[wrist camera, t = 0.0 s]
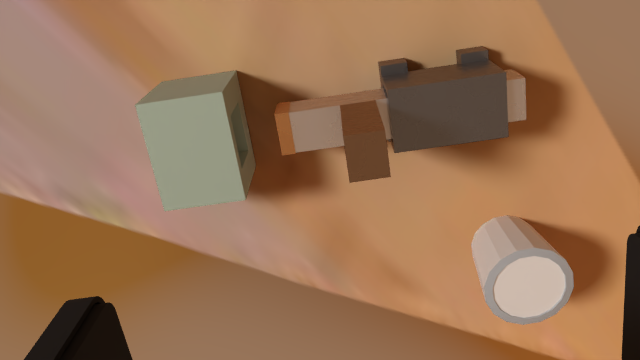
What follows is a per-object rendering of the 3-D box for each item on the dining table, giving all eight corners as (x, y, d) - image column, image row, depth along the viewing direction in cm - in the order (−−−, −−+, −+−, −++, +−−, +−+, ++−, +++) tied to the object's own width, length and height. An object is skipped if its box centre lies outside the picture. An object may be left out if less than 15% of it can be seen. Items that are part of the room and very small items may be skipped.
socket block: (161, 81, 46) (135, 105, 40) (236, 70, 46) (221, 91, 39) (185, 175, 49) (164, 211, 43) (256, 165, 49) (245, 200, 42)
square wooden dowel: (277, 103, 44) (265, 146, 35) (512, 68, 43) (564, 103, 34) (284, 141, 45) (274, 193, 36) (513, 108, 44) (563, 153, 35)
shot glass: (487, 197, 50) (512, 235, 43) (558, 225, 51) (592, 267, 44) (450, 262, 52) (468, 308, 46) (518, 288, 53) (545, 336, 47)
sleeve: (378, 61, 46) (386, 79, 40) (482, 46, 45) (505, 61, 39) (386, 135, 48) (395, 162, 42) (486, 120, 47) (508, 146, 41)
